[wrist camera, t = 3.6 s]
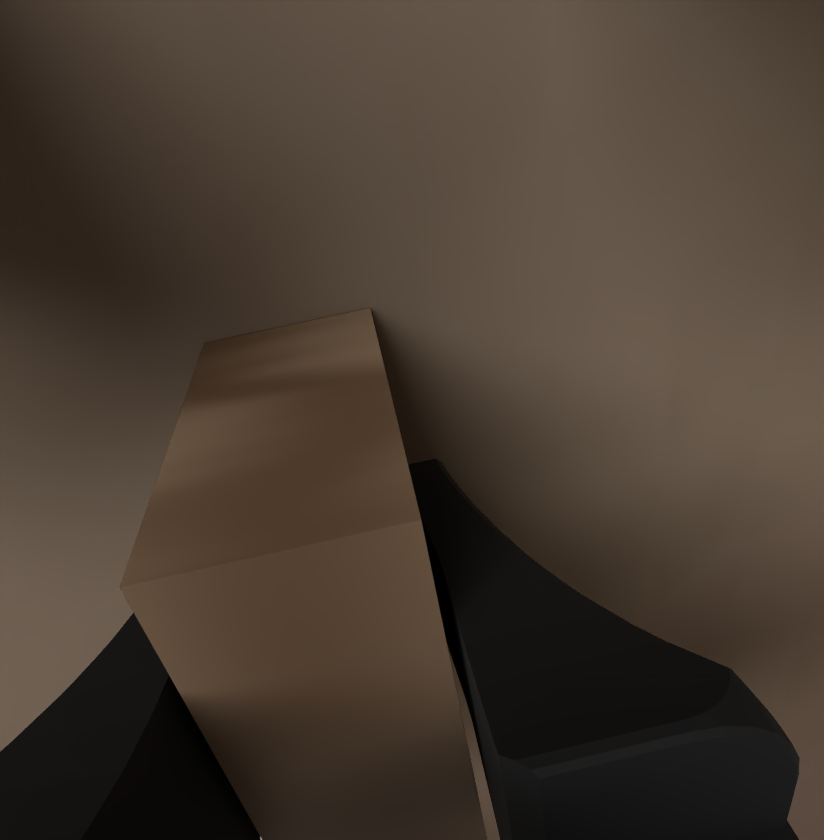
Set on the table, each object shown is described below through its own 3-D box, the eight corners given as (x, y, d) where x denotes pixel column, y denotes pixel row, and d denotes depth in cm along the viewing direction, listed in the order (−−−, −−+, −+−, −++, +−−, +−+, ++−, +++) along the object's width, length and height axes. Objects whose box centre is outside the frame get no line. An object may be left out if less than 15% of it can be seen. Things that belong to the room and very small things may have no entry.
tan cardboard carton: (303, 613, 15) (301, 909, 10) (204, 343, 11) (119, 588, 6) (429, 584, 15) (491, 863, 10) (370, 307, 11) (421, 519, 6)
